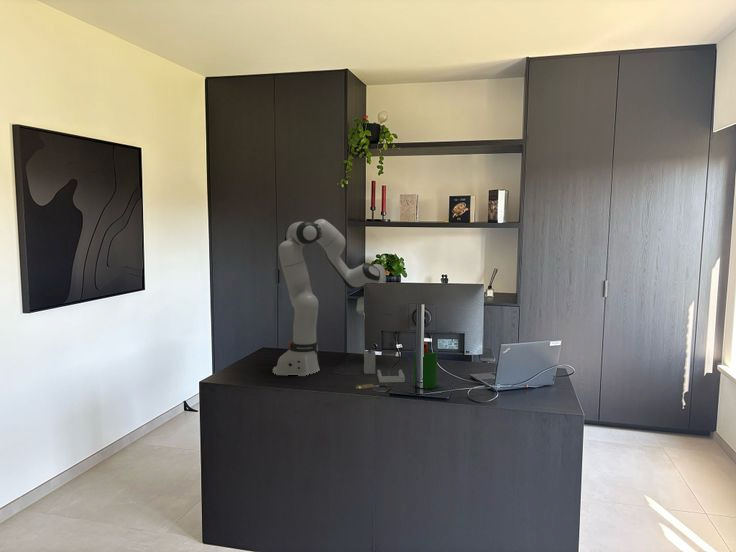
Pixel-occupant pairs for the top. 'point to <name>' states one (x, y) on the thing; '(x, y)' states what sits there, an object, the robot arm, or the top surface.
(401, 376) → the bracket
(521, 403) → the top surface
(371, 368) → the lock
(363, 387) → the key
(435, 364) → the green utensil holder
